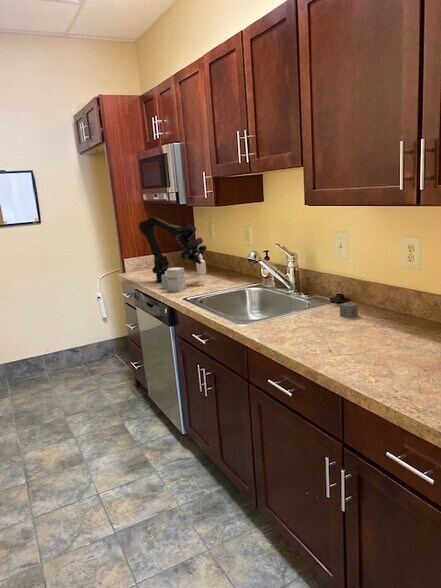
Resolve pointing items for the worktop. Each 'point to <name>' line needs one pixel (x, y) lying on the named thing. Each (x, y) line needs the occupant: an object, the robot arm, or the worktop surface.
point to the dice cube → (348, 309)
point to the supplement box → (176, 279)
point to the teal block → (164, 281)
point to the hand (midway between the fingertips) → (202, 262)
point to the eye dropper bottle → (201, 265)
